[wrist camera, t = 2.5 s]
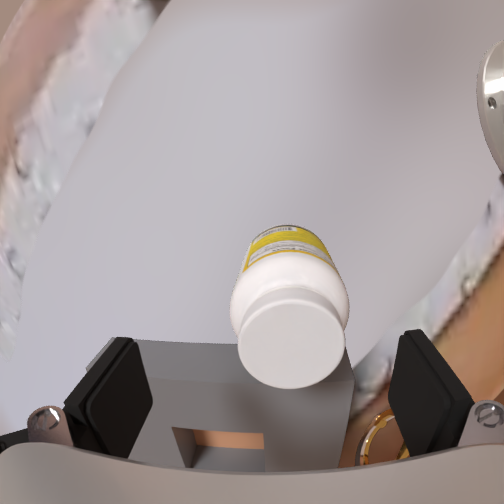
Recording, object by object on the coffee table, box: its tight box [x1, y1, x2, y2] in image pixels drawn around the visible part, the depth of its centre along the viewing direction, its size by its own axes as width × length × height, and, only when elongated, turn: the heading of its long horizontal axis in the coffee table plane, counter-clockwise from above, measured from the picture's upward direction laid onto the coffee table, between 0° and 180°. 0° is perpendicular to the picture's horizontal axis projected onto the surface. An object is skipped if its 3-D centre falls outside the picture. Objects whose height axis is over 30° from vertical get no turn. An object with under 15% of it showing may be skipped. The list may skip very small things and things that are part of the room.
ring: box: [355, 409, 409, 466], centre depth 20 cm, size 7×3×8 cm, turn 148°
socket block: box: [86, 337, 355, 472], centre depth 23 cm, size 18×16×4 cm
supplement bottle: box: [230, 224, 349, 389], centre depth 16 cm, size 5×5×10 cm
